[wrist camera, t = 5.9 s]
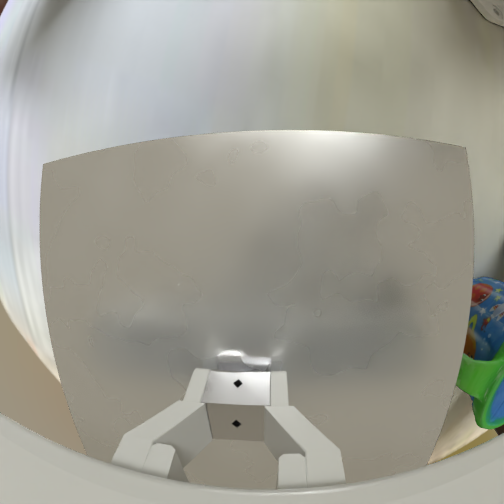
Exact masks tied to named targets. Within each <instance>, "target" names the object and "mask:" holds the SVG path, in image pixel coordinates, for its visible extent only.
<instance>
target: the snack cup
mask: <svg viewBox="0 0 504 504" xmlns="http://www.w3.org/2000/svg"><path fill="white" fill-rule="evenodd" d="M456 386H458V387H459V388H460V389H461V390H463V391H464V392H466V393H468V394H469V395H470V397H471V399H472V401H473V403H472V407H473V412H474V415H475V421H476V423H477V425H478V426H479V427H481V428H485V429H494V428H497V427H500V426H502V425H504V282H501V281H499V280H497V279H493V278H489V277H480V278H477V279H473V285H472V296H471V306H470V314H469V321H468V328H467V334H466V340H465V346H464V351H463V356H462V360H461V365H460V369H459V373H458V377H457V381H456Z"/></svg>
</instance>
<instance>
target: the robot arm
mask: <svg viewBox="0 0 504 504" xmlns="http://www.w3.org/2000/svg"><path fill="white" fill-rule="evenodd" d="M471 1H472V3H473V4H474V5H475V7H476V8H477V9H478V10H479V12H480V13H481V14H482V15H483V16H484V17H485V18H486V19H487V20H488V21H490V22H492V23H495V24H498V25H501V26H503V27H504V0H471ZM212 439H226V440H245V441H264V443H265V444H266V446H267V447H268V449H269V450H270V452H271V453H272V454H273V456H274V457H275V459H276V460H277V461H278V471H277V481H276V489H247V488H231V487H220V486H210V485H202V484H195V483H189V481H188V479H187V476H186V474H185V472H184V469H183V468H184V467H185V466H186V465H187V464H188V463H189V462H190V461H192V460H193V459H194V458H195V457H196V456H197V455H198V454H199V453H200V452H201V451H202V450H203V449H204V448H205V447H206V446H207V445H208V444H209V443H210V442H211V441H212ZM0 504H504V433H502V434H501V435H499V436H497V437H495V438H493V439H491V440H489V441H487V442H485V443H483V444H480V445H478V446H476V447H474V448H471V449H469V450H467V451H464V452H462V453H460V454H457V455H454V456H452V457H449V458H447V459H444V460H441V461H438V462H435V463H432V464H429V465H426V466H423V467H420V468H416V469H413V470H410V471H406V472H402V473H398V474H394V475H390V476H386V477H381V478H377V479H372V480H366V481H361V482H355V483H348V484H346V480H345V474H344V468H343V463H342V457H341V452H340V449H339V448H338V447H337V446H336V445H334V444H333V443H332V442H331V441H330V440H329V439H328V438H327V437H326V436H325V435H324V434H322V433H321V432H320V431H319V430H318V429H317V428H316V427H315V426H314V425H313V424H312V423H311V422H310V421H309V420H308V419H307V418H306V417H304V416H303V415H302V414H301V413H300V412H299V411H298V410H297V409H296V408H295V407H294V406H289V398H288V381H287V372H286V371H271V373H270V371H231V370H217V369H203V368H196V369H195V370H194V371H193V374H192V377H191V379H190V382H189V385H188V388H187V391H186V393H185V396H184V399H183V401H180V400H178V401H177V402H175V403H174V404H172V405H171V406H169V407H168V408H166V409H164V410H163V411H161V412H160V413H158V414H157V415H155V416H153V417H152V418H150V419H149V420H147V421H145V422H144V423H142V424H141V425H139V426H137V427H136V428H134V429H132V430H131V431H129V432H127V433H126V434H124V436H123V438H122V440H121V442H120V444H119V446H118V448H117V450H116V452H115V454H114V456H113V458H112V460H111V463H110V464H109V463H106V462H103V461H101V460H98V459H95V458H92V457H89V456H87V455H84V454H81V453H79V452H77V451H74V450H72V449H69V448H67V447H65V446H63V445H60V444H58V443H56V442H54V441H51V440H49V439H47V438H45V437H43V436H41V435H39V434H37V433H35V432H34V431H32V430H30V429H28V428H26V427H24V426H22V425H21V424H19V423H17V422H15V421H14V420H12V419H11V418H9V417H7V416H6V415H4V414H2V413H1V412H0Z"/></svg>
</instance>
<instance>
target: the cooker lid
mask: <svg viewBox="0 0 504 504" xmlns="http://www.w3.org/2000/svg"><path fill="white" fill-rule="evenodd" d="M40 258H41V273H42V284H43V293H44V301H45V309H46V315H47V322H48V328H49V333H50V338H51V343H52V348H53V353H54V357H55V361H56V365H57V369H58V373H59V377H60V380H61V384H62V387H63V391H64V394H65V397H66V400H67V403H68V407H69V410H70V412H71V415H72V418H73V421H74V423H75V426H76V429H77V431H78V434H79V437H80V439H81V441H82V444H83V446H84V449H85V451H86V453H87V455H88V456H89V457H92V458H95V459H98V460H101V461H103V462H106V463H109V464H110V463H111V460H112V458H113V456H114V454H115V452H116V450H117V448H118V446H119V444H120V442H121V440H122V438H123V436H124V434H126V433H127V432H129V431H131V430H132V429H134V428H136V427H137V426H139V425H141V424H142V423H144V422H145V421H147V420H149V419H150V418H152V417H153V416H155V415H157V414H158V413H160V412H161V411H163V410H164V409H166V408H168V407H169V406H171V405H172V404H174V403H175V402H177V401H178V400H180V401H183V399H184V396H185V393H186V391H187V388H188V385H189V382H190V379H191V377H192V374H193V371H194V370H195V369H196V368H203V369H217V370H231V371H270V373H271V371H286V372H287V381H288V398H289V406H294V407H295V408H296V409H297V410H298V411H299V412H300V413H301V414H302V415H303V416H304V417H306V418H307V419H308V420H309V421H310V422H311V423H312V424H313V425H314V426H315V427H316V428H317V429H318V430H319V431H320V432H321V433H322V434H324V435H325V436H326V437H327V438H328V439H329V440H330V441H331V442H332V443H333V444H334V445H336V446H337V447H338V448H339V449H340V452H341V457H342V463H343V468H344V474H345V480H346V484H348V483H355V482H361V481H366V480H372V479H377V478H381V477H386V476H390V475H394V474H398V473H402V472H406V471H410V470H413V469H416V468H420V467H423V466H426V465H427V463H428V461H429V459H430V457H431V454H432V452H433V450H434V447H435V445H436V442H437V440H438V437H439V435H440V432H441V429H442V426H443V424H444V421H445V418H446V415H447V412H448V409H449V406H450V402H451V399H452V396H453V392H454V389H455V385H456V381H457V377H458V373H459V369H460V365H461V360H462V356H463V351H464V346H465V340H466V334H467V328H468V321H469V314H470V306H471V296H472V285H473V268H474V218H473V202H472V190H471V180H470V172H469V165H468V158H467V152H466V147H461V146H456V145H451V144H445V143H440V142H434V141H428V140H421V139H415V138H407V137H399V136H391V135H381V134H371V133H358V132H343V131H320V130H263V131H240V132H224V133H211V134H200V135H190V136H181V137H173V138H166V139H158V140H152V141H145V142H139V143H133V144H127V145H122V146H117V147H112V148H107V149H102V150H97V151H93V152H88V153H84V154H80V155H76V156H72V157H68V158H64V159H60V160H56V161H53V162H49V163H46V164H43V171H42V182H41V197H40ZM183 469H184V472H185V474H186V476H187V479H188V481H189V483H195V484H202V485H210V486H220V487H231V488H247V489H276V481H277V471H278V461H277V460H276V459H275V457H274V456H273V454H272V453H271V452H270V450H269V449H268V447H267V446H266V444H265V443H264V441H245V440H226V439H212V441H211V442H210V443H209V444H208V445H207V446H206V447H205V448H204V449H203V450H202V451H201V452H200V453H199V454H198V455H197V456H196V457H195V458H194V459H193V460H192V461H190V462H189V463H188V464H187V465H186V466H185V467H184V468H183Z"/></svg>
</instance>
